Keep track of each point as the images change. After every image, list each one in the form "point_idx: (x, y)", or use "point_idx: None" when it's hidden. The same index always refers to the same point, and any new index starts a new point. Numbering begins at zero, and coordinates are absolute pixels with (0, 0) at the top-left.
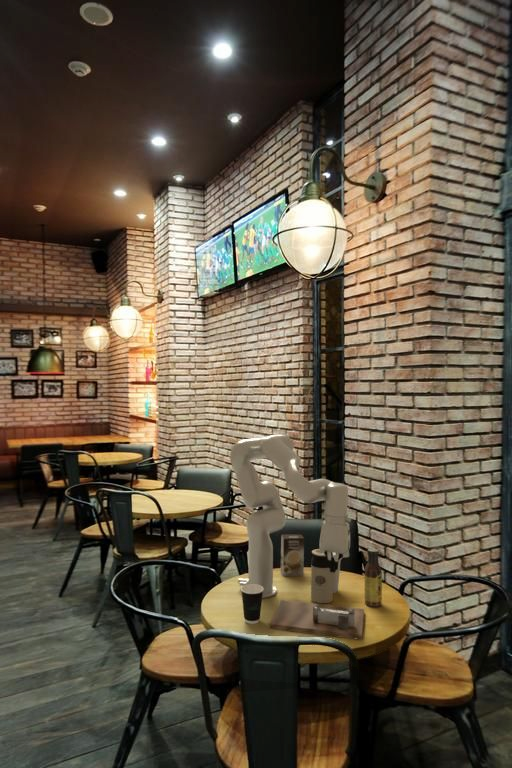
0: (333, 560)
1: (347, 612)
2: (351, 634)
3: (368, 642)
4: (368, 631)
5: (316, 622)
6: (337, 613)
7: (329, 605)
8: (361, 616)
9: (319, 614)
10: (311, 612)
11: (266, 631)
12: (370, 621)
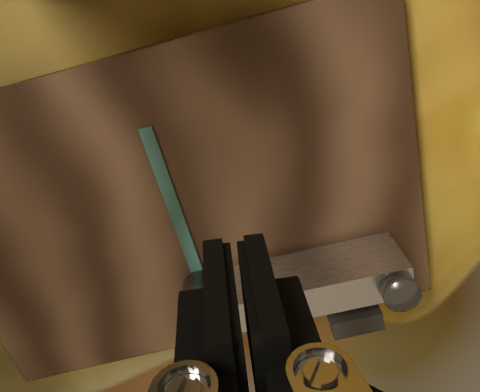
0: (248, 389)
1: (372, 287)
2: None
3: (452, 281)
4: (442, 191)
5: None
6: (320, 314)
7: (171, 44)
8: (402, 101)
9: None
10: (124, 196)
11: (41, 387)
12: (442, 74)
